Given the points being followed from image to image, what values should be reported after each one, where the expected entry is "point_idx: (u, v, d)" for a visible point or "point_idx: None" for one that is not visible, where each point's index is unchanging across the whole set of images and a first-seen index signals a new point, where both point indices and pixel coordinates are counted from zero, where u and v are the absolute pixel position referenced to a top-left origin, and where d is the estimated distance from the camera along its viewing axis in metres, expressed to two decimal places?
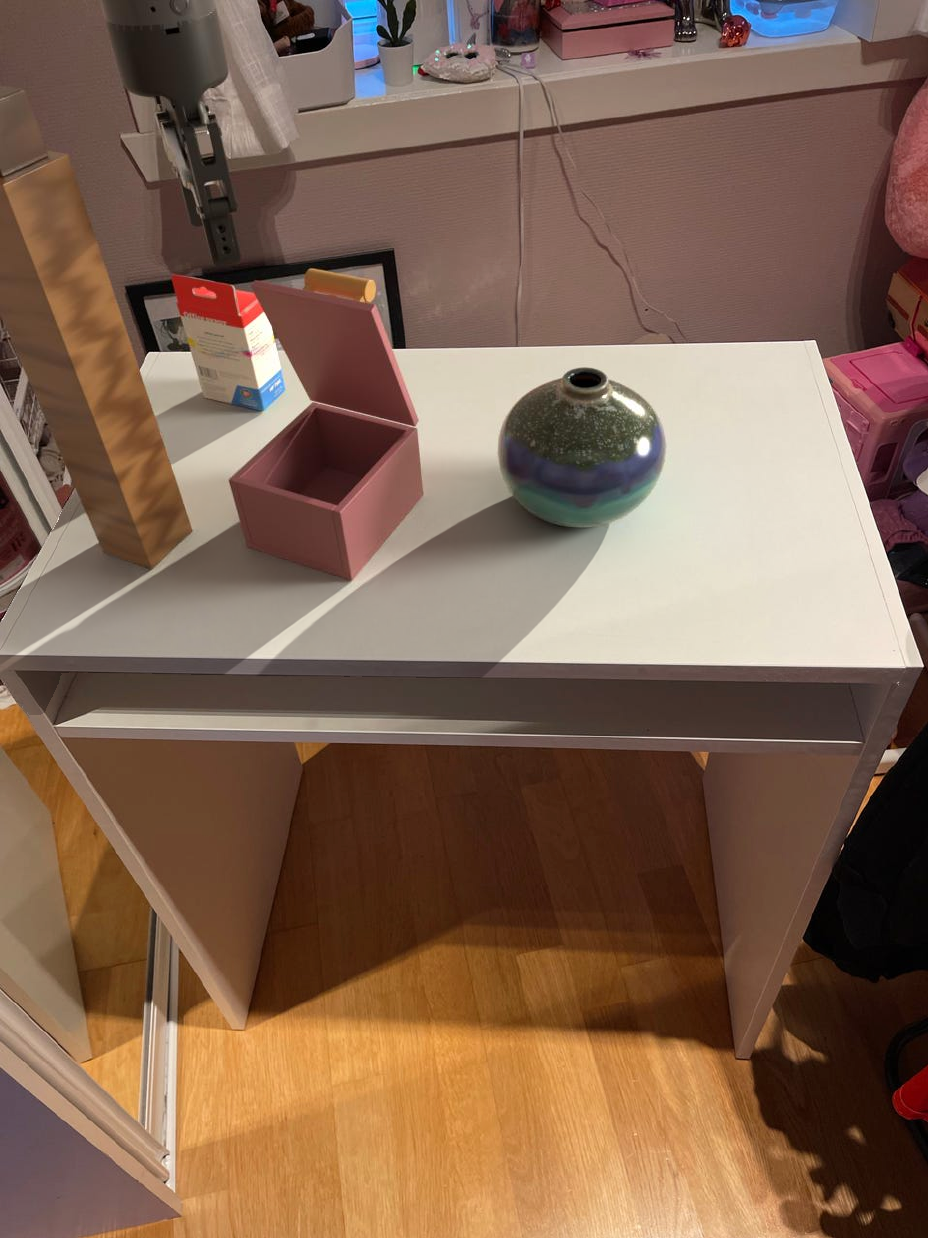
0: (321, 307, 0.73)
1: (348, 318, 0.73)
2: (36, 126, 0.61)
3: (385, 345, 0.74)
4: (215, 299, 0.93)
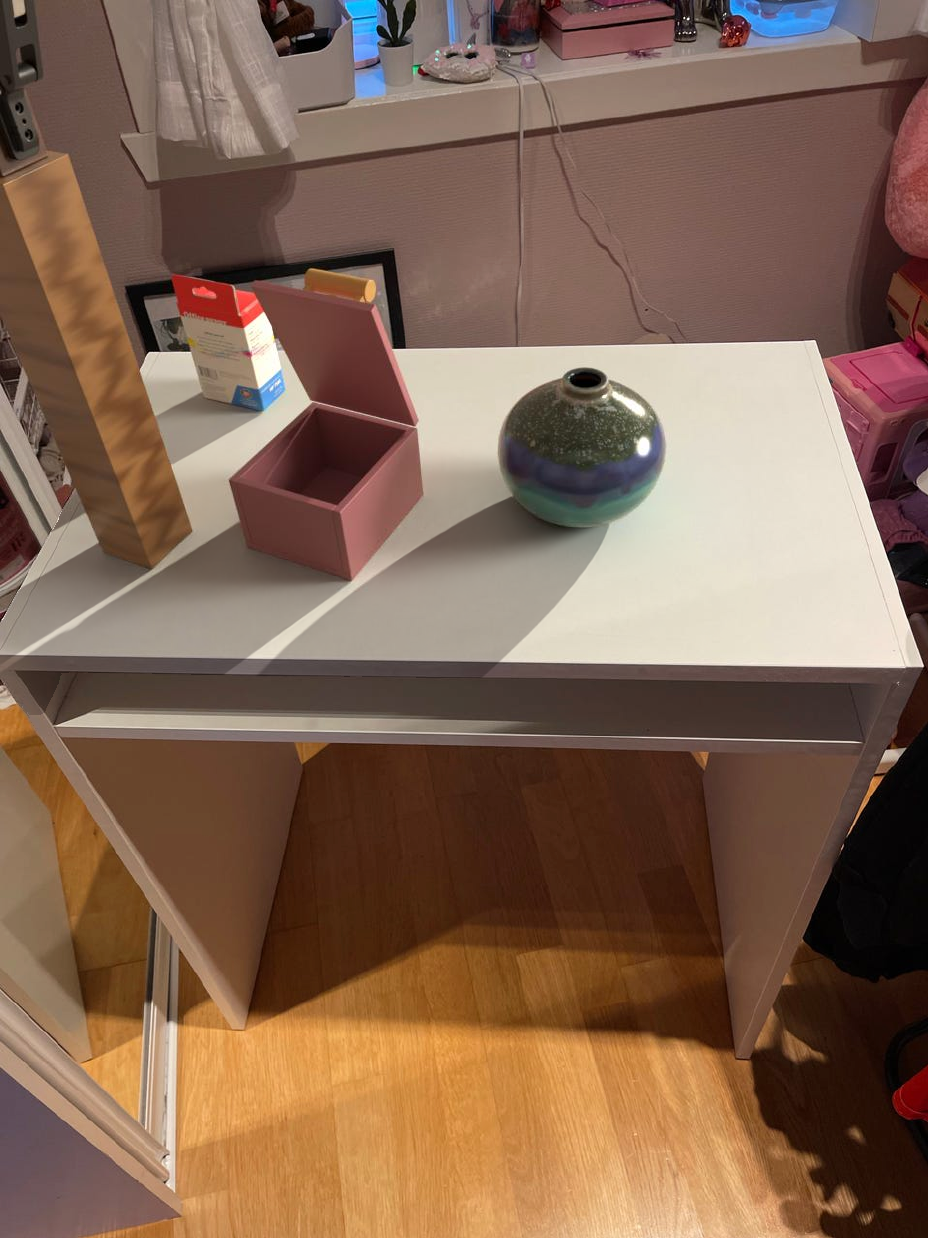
0: (321, 307, 0.73)
1: (348, 318, 0.73)
2: (36, 126, 0.61)
3: (385, 345, 0.74)
4: (215, 299, 0.93)
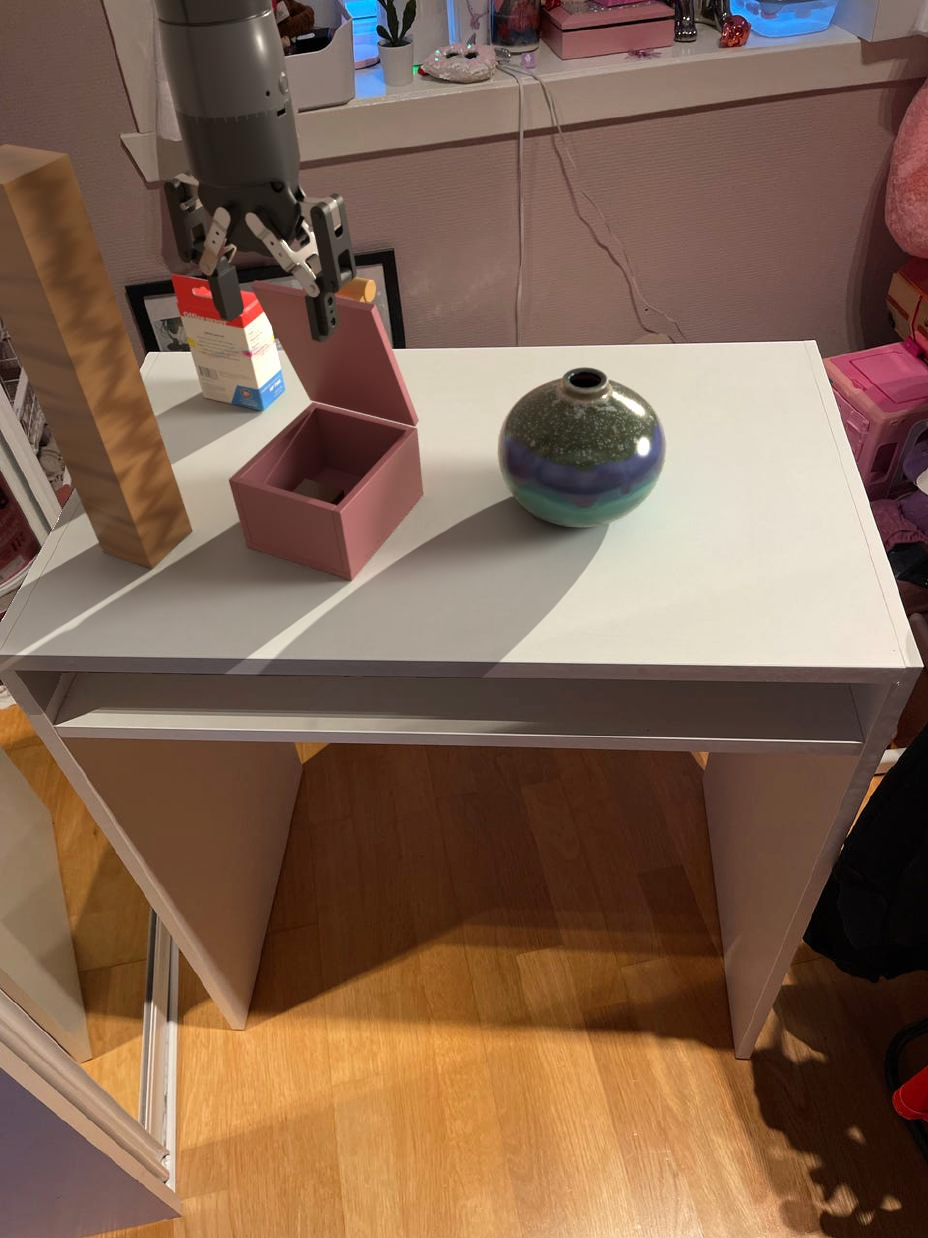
0: None
1: (348, 318, 0.73)
2: None
3: (385, 345, 0.74)
4: None
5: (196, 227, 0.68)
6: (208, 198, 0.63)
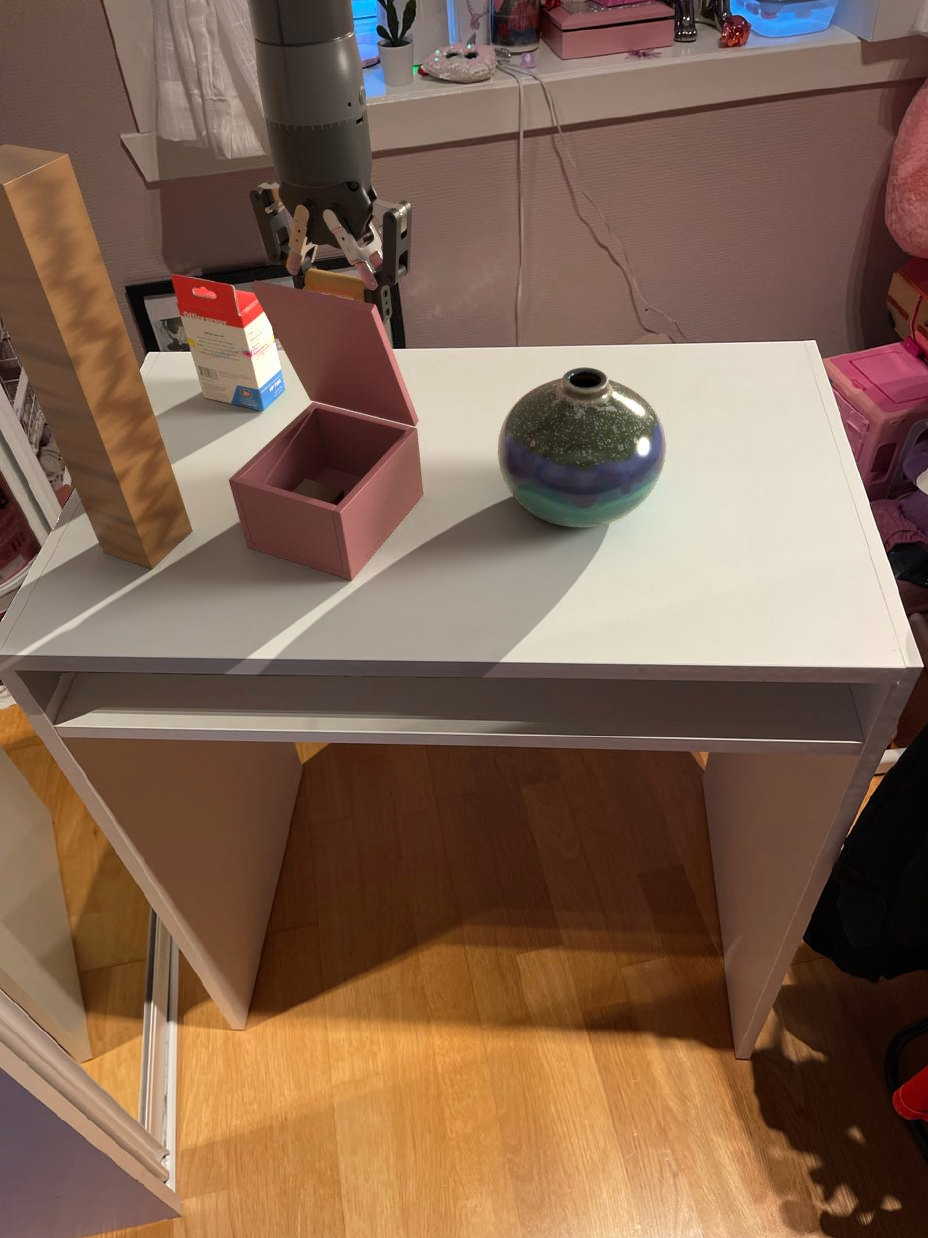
0: (321, 307, 0.73)
1: (348, 318, 0.73)
2: None
3: (385, 345, 0.74)
4: (215, 299, 0.93)
5: (281, 231, 0.76)
6: (288, 196, 0.71)
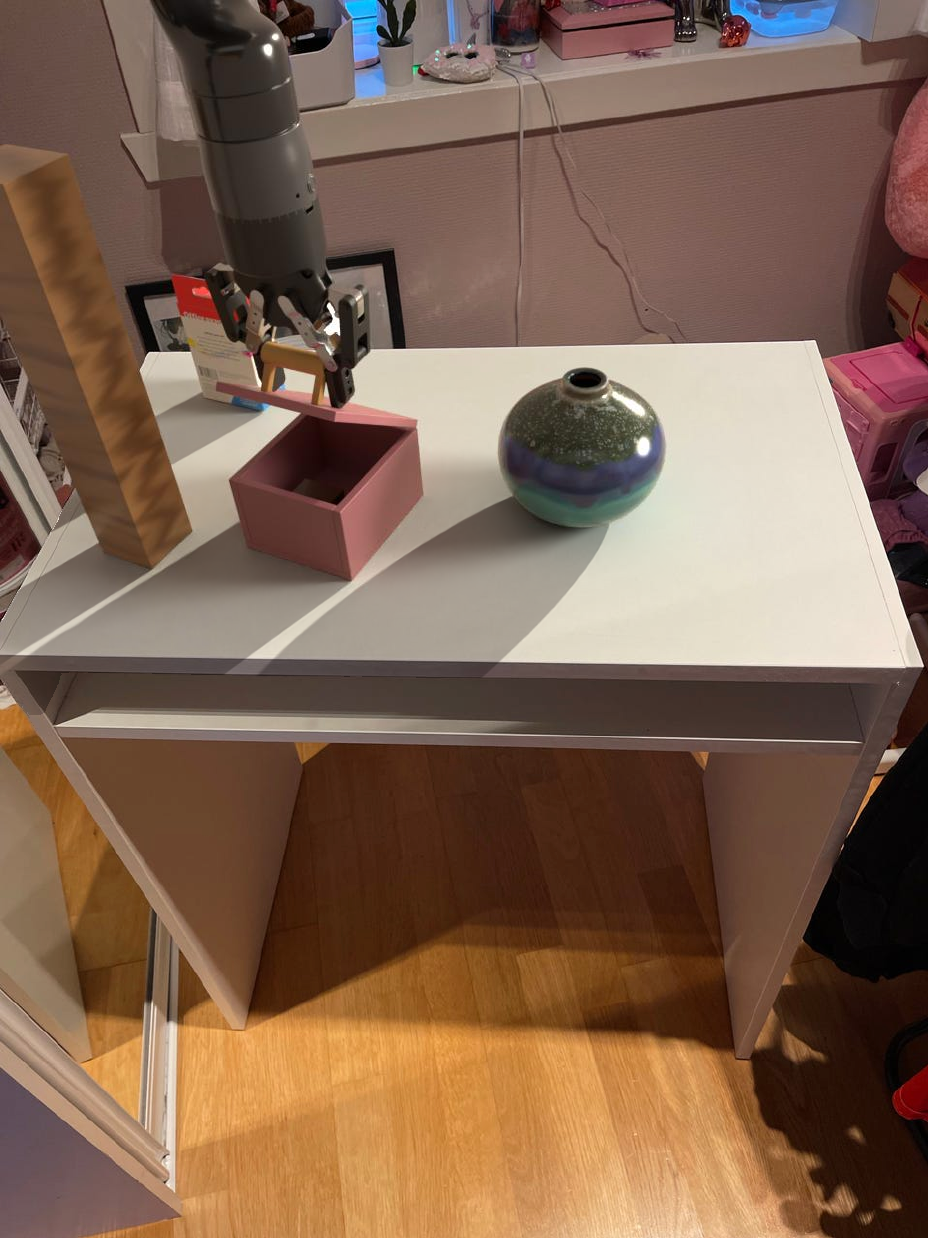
0: None
1: None
2: None
3: (359, 421, 0.74)
4: None
5: (239, 309, 0.74)
6: (243, 280, 0.69)
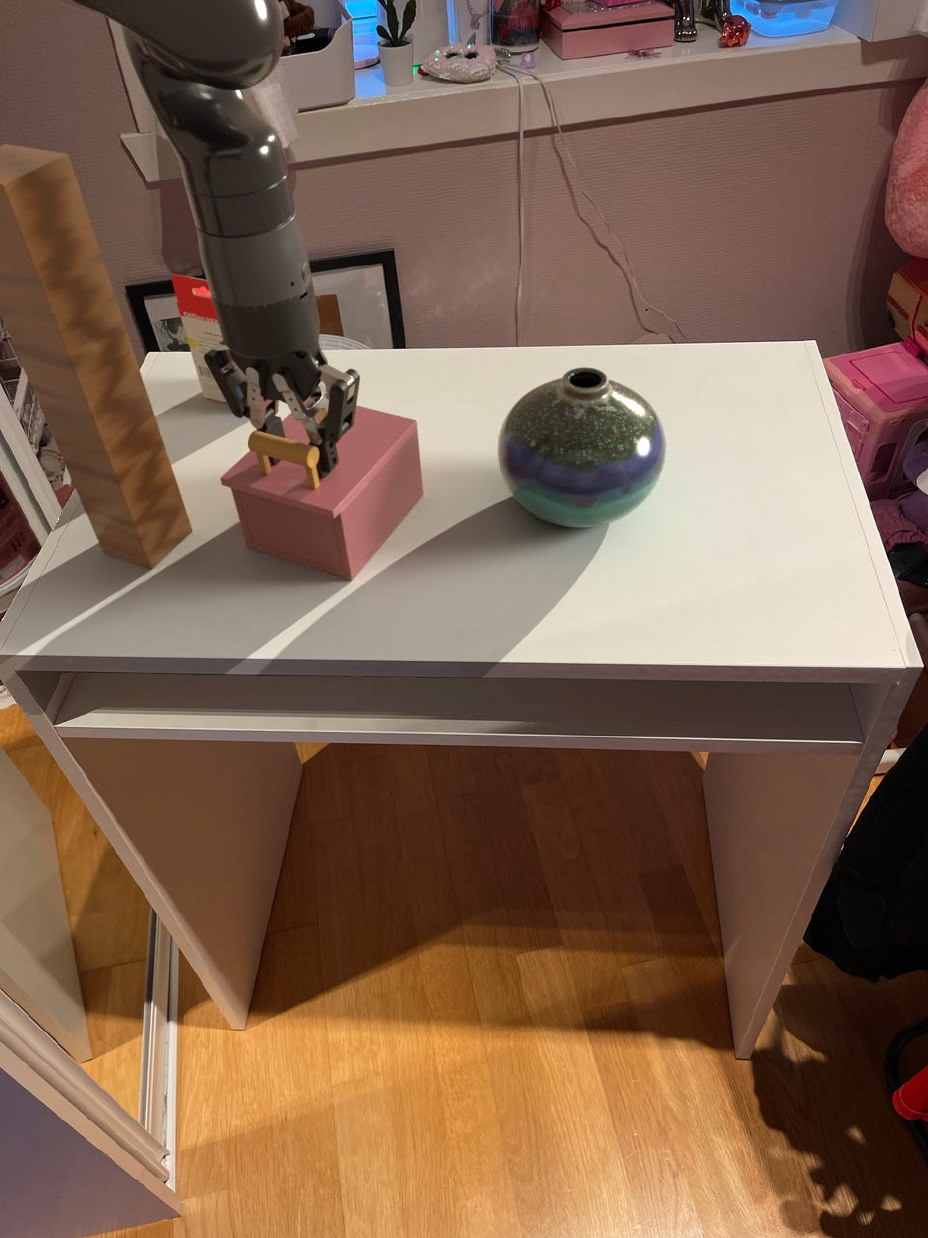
0: None
1: None
2: None
3: (358, 490, 0.77)
4: None
5: (242, 386, 0.77)
6: (239, 356, 0.72)
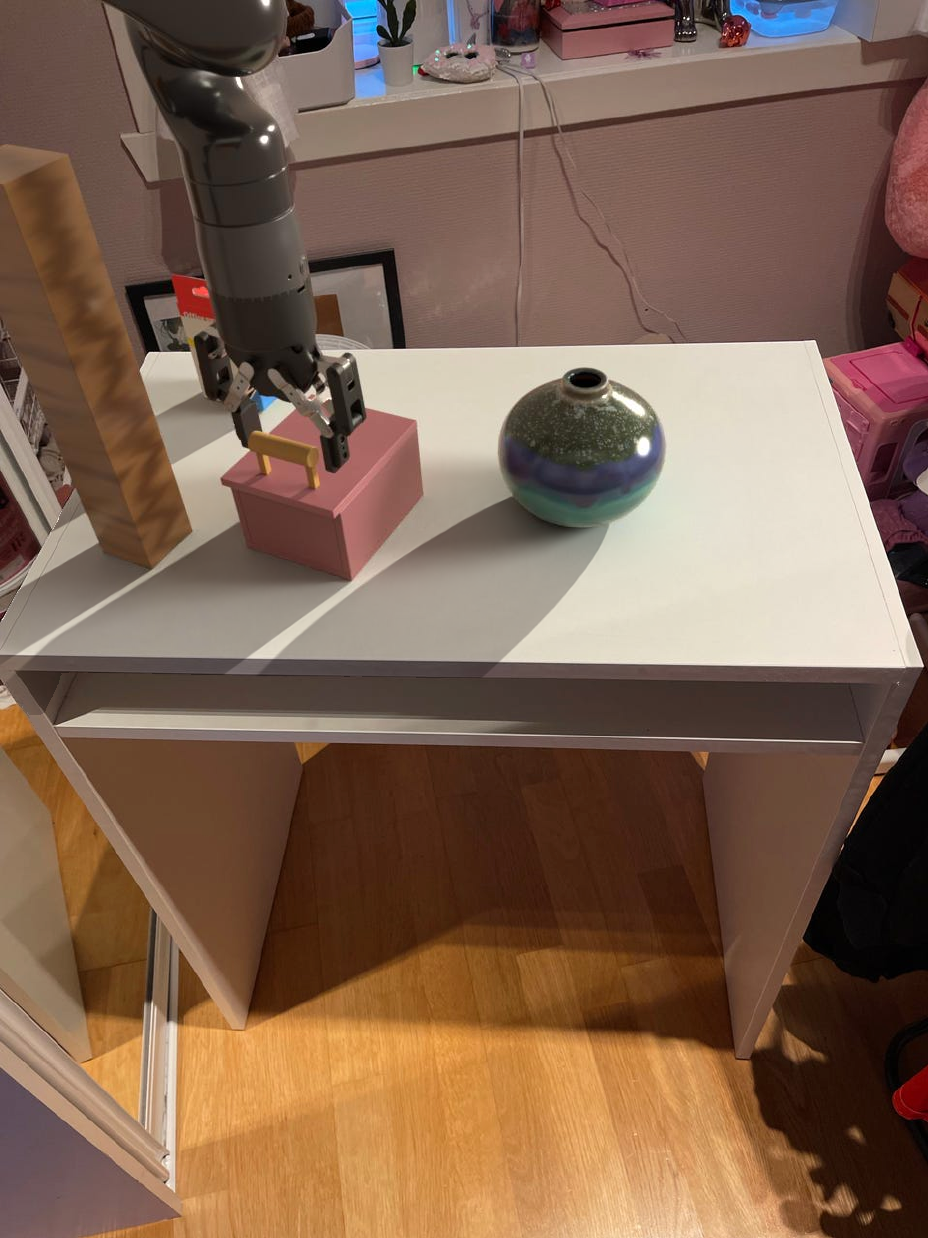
0: None
1: None
2: None
3: (358, 490, 0.77)
4: None
5: (221, 368, 0.75)
6: (234, 352, 0.71)
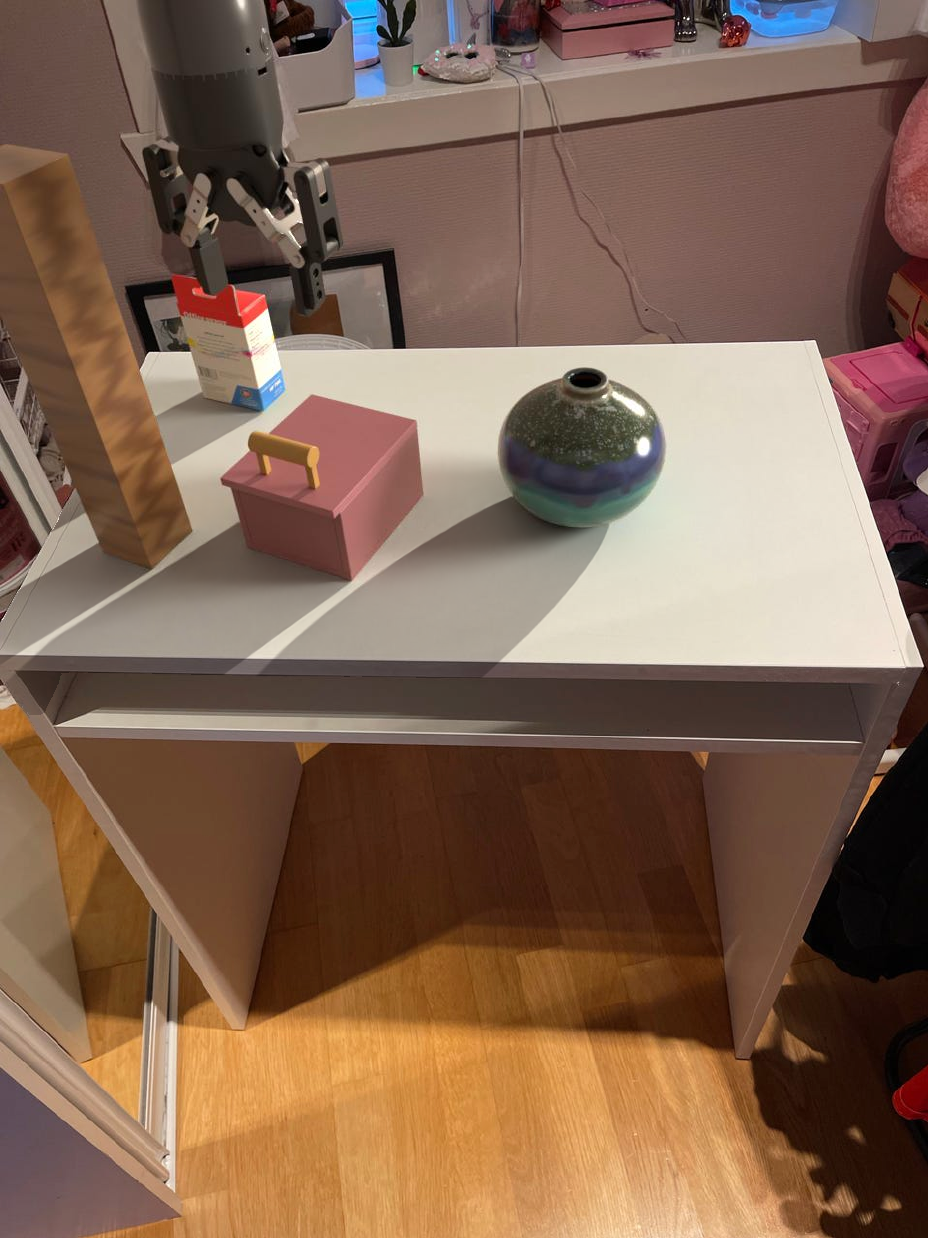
0: None
1: None
2: None
3: (358, 490, 0.77)
4: (215, 299, 0.93)
5: (177, 197, 0.66)
6: (188, 164, 0.61)
